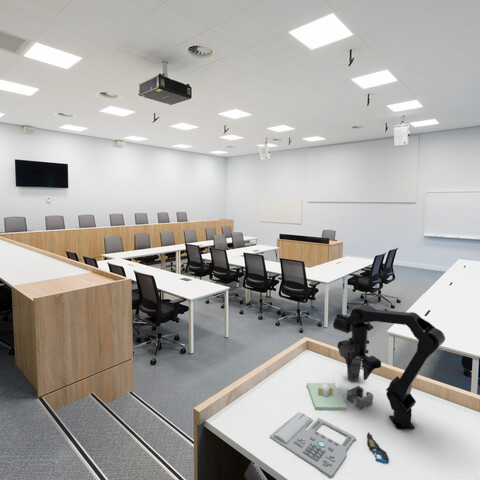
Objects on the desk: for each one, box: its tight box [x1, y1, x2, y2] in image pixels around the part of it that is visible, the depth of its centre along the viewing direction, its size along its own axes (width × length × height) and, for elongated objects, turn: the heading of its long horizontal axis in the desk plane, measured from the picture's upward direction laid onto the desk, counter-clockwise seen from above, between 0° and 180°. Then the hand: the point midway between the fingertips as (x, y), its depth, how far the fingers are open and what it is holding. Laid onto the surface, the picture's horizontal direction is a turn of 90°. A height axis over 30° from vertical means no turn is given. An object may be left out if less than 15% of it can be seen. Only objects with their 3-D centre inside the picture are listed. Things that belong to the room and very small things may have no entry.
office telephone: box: [269, 412, 357, 479], centre depth 109 cm, size 23×3×20 cm
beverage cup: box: [346, 356, 363, 383], centre depth 143 cm, size 7×7×20 cm
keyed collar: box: [346, 385, 374, 410], centre depth 129 cm, size 7×7×4 cm
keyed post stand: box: [306, 382, 347, 411], centre depth 131 cm, size 16×12×5 cm
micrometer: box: [366, 432, 390, 464], centre depth 105 cm, size 12×2×5 cm
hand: (356, 373), depth 129 cm, fingers open, 9 cm apart
